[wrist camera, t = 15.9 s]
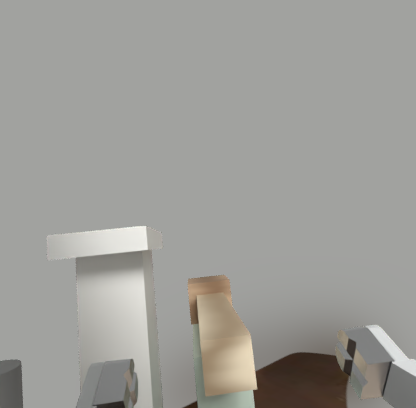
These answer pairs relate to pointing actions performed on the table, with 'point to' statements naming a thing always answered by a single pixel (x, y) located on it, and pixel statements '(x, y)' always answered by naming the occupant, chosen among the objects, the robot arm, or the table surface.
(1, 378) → the container
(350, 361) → the robot arm
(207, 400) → the pale green rectangular block
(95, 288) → the white i-beam pillar
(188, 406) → the table surface
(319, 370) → the table surface
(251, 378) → the tan long block
